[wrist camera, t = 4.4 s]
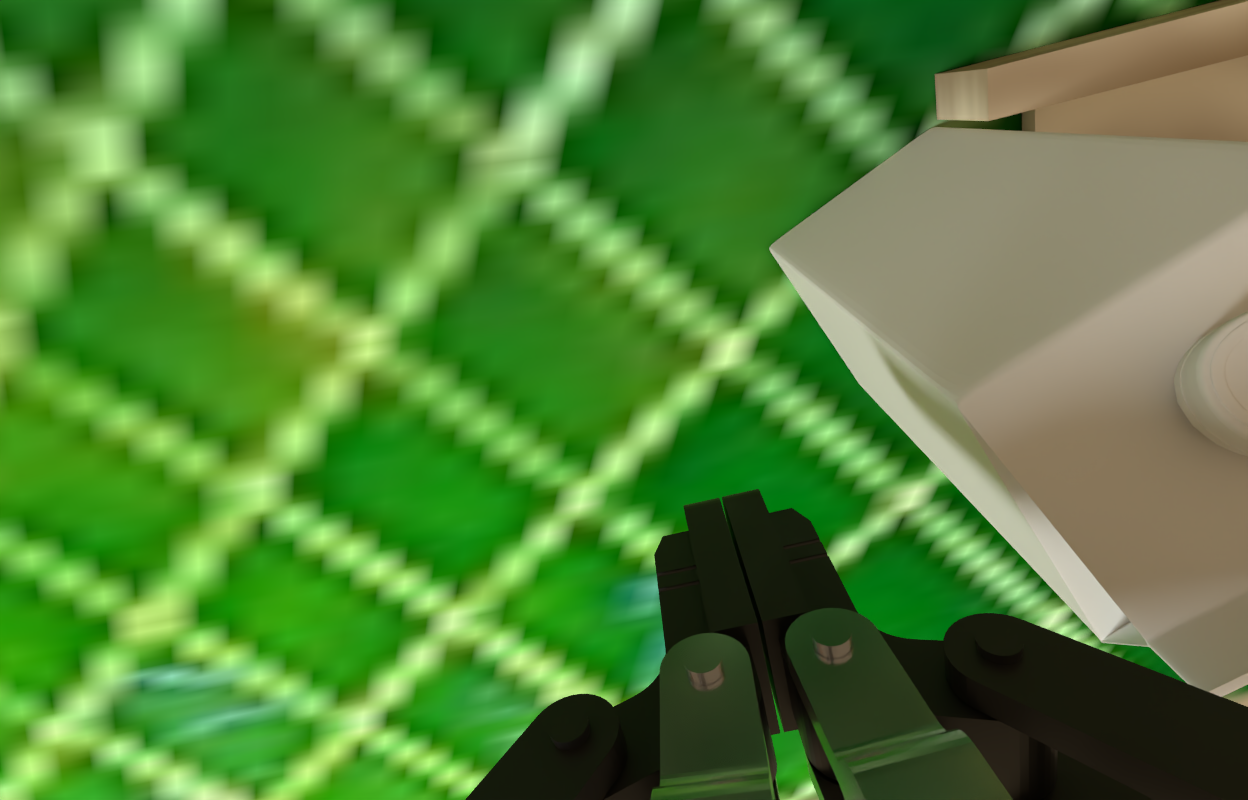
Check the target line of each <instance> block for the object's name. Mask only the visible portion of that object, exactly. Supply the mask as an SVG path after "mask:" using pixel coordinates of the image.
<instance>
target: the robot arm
mask: <svg viewBox="0 0 1248 800" xmlns="http://www.w3.org/2000/svg"><path fill="white" fill-rule="evenodd" d="M722 500H723V506H724V511H725V515H726V518H725V515H724V511H723V508H722V505H721V502H720V499H719V498H716V499H711V500H707V501H702V502H698V503H693V504H689V505H684V510H685V515H686V520H687V525H688V529H689V531H686V532H681V533H676V534H672V535H667V536H663V537H662V540H661V542H660V544H659V546H658V548H657V550H656V552H655V555H654V556H655V564H656V573H657V581H658V589H659V598H660V606H661V614H662V623H663V631H664V640H665V648H666V655H665V657H664V658H663V660H662V663H661V666H660V673H659V675H658V676H657V678H656V679H655V680H654V681H653V682H652V683H651V684H650V685H649V686H648V687H647V688H646V689H645V690H643V691H642V692H641V693H639V694H637V695H635V696H634V697H632V698H630V699H628V700H626V701H624V702H622V703H620V704H618V705H616V706H614V707H613V706H612V705H611V704H610V703H609V702H608V701H607V700H605V699H603V698H601V697H599V696H596V695H591V694H577V695H571V696H568V697H565V698H562V699H560V700H558V701H556V702H554V703H553V704H551V705H549V706H548V707H547V708H546V709H544V710H543V711H542V712H541V713H540V714H539V715H538V716H537V717H536V719H535V720H534V721H533V722H532V723H531V724H530V726H529V727H528V728H527V729H526V730H525V731H524V732H523V734H522V735H521V736H520V737H519V738H518V739H517V741H516V742H515V743H514V744H513V745H512V746H511V747H510V749H509V750H508V751H507V752H506V753H505V754H504V756H503V757H502V758H501V759H500V760H499V761H498V763H497V764H496V765H495V766H494V767H493V768H492V769H491V771H490V772H489V773H488V774H487V775H486V776H485V778H484V779H483V780H482V781H481V782H480V783H479V784H478V786H477V787H476V788H475V789H474V790H473V791H472V793H471V794H470V795H469V796H468V797H467V798H466V800H780V798H779V792H778V787H777V782H776V777H775V776H776V771H777V763H776V757H775V752H774V747H773V743H772V738H771V735H773V734H778V733H780V730H779V725H778V720H777V715H776V710H775V705H774V700H773V696H774V699H775V702H776V706H777V709H778V713H779V716H780V719H781V723H782V726H783V730H784V732H787V731H792V730H797V729H798V730H799V733H800V736H801V740H802V743H803V746H804V749H805V754H806V759H807V765H808V770H809V774H810V777H811V780H812V783H813V785H814V788H815V790H816V793H817V795H818V797H819V800H1248V707H1246V706H1244V705H1241V704H1238V703H1236V702H1233V701H1231V700H1228V699H1226V698H1223V697H1220V696H1218V695H1215V694H1213V693H1210V692H1207V691H1205V690H1202V689H1200V688H1197V687H1195V686H1192V685H1189V684H1187V683H1184V682H1182V681H1179V680H1176V679H1174V678H1171V677H1169V676H1166V675H1164V674H1161V673H1158V672H1156V671H1153V670H1151V669H1148V668H1145V667H1143V666H1140V665H1138V664H1135V663H1133V662H1130V661H1127V660H1125V659H1122V658H1120V657H1117V656H1114V655H1112V654H1109V653H1107V652H1104V651H1102V650H1099V649H1096V648H1094V647H1091V646H1089V645H1086V644H1083V643H1081V642H1078V641H1076V640H1073V639H1071V638H1068V637H1065V636H1063V635H1060V634H1058V633H1055V632H1052V631H1050V630H1047V629H1045V628H1042V627H1040V626H1037V625H1034V624H1032V623H1029V622H1027V621H1024V620H1021V619H1018V618H1015V617H1012V616H1008V615H1003V614H994V613H983V614H975V615H971V616H967V617H964V618H962V619H960V620H958V621H957V622H955V623H954V624H953V625H951V626H950V627H949V629H948V630H947V632H946V634H945V637H944V641H937V640H917V639H906V638H900V637H895V636H892V635H889V634H886V633H884V632H882V631H879V630H878V629H877V628H876V627H875V625H874V624H873V623H872V622H871V621H870V620H868V619H867V618H866V617H864V616H862V615H861V614H858V612H857V611H856V609H855V607H854V605H853V603H852V601H851V599H850V597H849V595H848V593H847V591H846V589H845V587H844V585H843V584H842V582H841V580H840V578H839V576H838V574H837V572H836V570H835V568H834V566H833V564H832V562H831V560H830V558H829V556H827V552H826V550H825V549H824V547H823V545H822V543H821V542H820V540H819V537H818V535H817V533H816V531H815V529H814V527H813V525H812V523H811V521H810V520H808V519H807V518H805V517H804V516H802V515H801V514H799V513H798V512H797V511H795V510H794V509H792V508H790V509H786V510H781V511H777V512H772V513H769V512H768V510H767V508H766V505H765V503H764V500H763V498H762V496H761V493H760V491H759V489H756V490H752V491H747V492H743V493H738V494H733V495H729V496H724V497H722ZM726 520H727V521H726ZM771 689H772V690H771ZM772 692H773V695H772Z"/></svg>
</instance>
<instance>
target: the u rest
mask: <svg viewBox="0 0 1248 800" xmlns="http://www.w3.org/2000/svg"><path fill="white" fill-rule="evenodd" d="M935 88H936V108H937V120H969V121H991V120H995V119H999V118H1003V117H1007V116H1010V115H1014V114H1018V113H1022V131H1032V132H1053V133H1074V134H1095V135H1116V136H1136V137H1157V138H1178V139H1199V140H1220V141H1241V142H1248V0H1219V1H1215V2H1212V3H1208V4H1204V5H1200V6H1196V7H1192V8H1188V9H1185V10H1181V11H1177V12H1173V13H1169V14H1165V15H1162V16H1158V17H1154V18H1150V19H1146V20H1142V21H1138V22H1135V23H1131V24H1127V25H1123V26H1119V27H1115V28H1111V29H1108V30H1104V31H1100V32H1096V33H1092V34H1088V35H1085V36H1081V37H1077V38H1073V39H1069V40H1065V41H1061V42H1058V43H1054V44H1050V45H1046V46H1042V47H1038V48H1034V49H1031V50H1027V51H1023V52H1019V53H1015V54H1011V55H1008V56H1004V57H1000V58H996V59H992V60H988V61H984V62H981V63H977V64H973V65H969V66H965V67H961V68H958V69H954V70H950V71H946V72H942V73H938V74H935Z"/></svg>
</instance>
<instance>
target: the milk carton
mask: <svg viewBox="0 0 1248 800" xmlns="http://www.w3.org/2000/svg"><path fill="white" fill-rule="evenodd" d="M769 249H770V252H771V253H772V255H773V256H774V258H775V259H776V261H777V262H778V264H779V265H780V267H781V268H782V270H783V271H784V272H785V274H786V275H787V277H788V278H789V280H790V281H791V283H792V284H793V286H794V287H795V289H796V290H797V292H798V293H799V295H800V296H801V298H802V299H803V301H804V302H805V304H806V305H807V307H808V308H809V310H810V311H811V313H812V314H813V316H814V317H815V319H816V320H817V322H818V323H819V325H820V326H821V328H822V329H823V331H824V332H825V334H826V335H827V337H828V338H829V340H830V341H831V343H832V344H833V346H834V347H835V349H836V350H837V352H838V353H839V355H840V356H841V358H842V359H843V361H844V362H845V364H846V365H847V366H848V368H849V369H850V371H851V372H852V374H853V375H854V377H855V378H856V380H857V381H858V383H859V384H860V385H861V386H862V387H863V389H864V390H865V391H866V392H867V393H868V394H869V395H870V396H871V397H872V398H873V399H874V400H875V401H876V402H877V403H878V404H879V406H880V407H881V408H882V409H883V410H884V411H885V412H886V413H887V414H888V415H889V416H890V417H891V418H892V419H893V420H894V421H895V423H896V424H897V425H898V426H899V427H900V428H901V429H902V430H903V431H904V432H905V433H906V434H907V435H908V436H909V437H910V438H911V439H912V441H913V442H914V443H915V444H916V445H917V446H918V447H919V448H920V449H921V450H922V451H923V452H924V453H925V454H926V455H927V456H928V458H929V459H930V460H931V461H932V462H933V463H934V464H935V465H936V466H937V467H938V468H939V469H940V470H941V471H942V472H943V473H944V474H945V476H946V477H947V478H948V479H949V480H950V481H951V482H952V483H953V484H954V485H955V486H956V487H957V488H958V489H959V490H960V491H961V493H962V494H963V495H964V496H965V497H966V498H967V499H968V500H969V501H970V502H971V503H972V504H973V505H974V506H975V507H976V508H977V509H978V511H979V512H980V513H981V514H982V515H983V516H984V517H985V518H986V519H987V520H988V521H989V522H990V523H991V524H992V525H993V526H994V528H995V529H996V530H997V531H998V532H999V533H1000V534H1001V535H1002V536H1003V537H1004V538H1005V539H1006V540H1007V541H1008V542H1009V543H1010V545H1011V546H1012V547H1013V548H1014V549H1015V550H1016V551H1017V552H1018V553H1019V554H1020V555H1021V556H1022V557H1023V558H1024V559H1025V560H1026V561H1027V563H1028V564H1029V565H1030V566H1031V567H1032V568H1033V569H1034V570H1035V571H1036V572H1037V573H1038V574H1039V575H1040V576H1041V577H1042V578H1043V580H1044V581H1045V582H1046V583H1047V584H1048V585H1049V586H1050V587H1051V588H1052V589H1053V590H1054V591H1055V592H1056V593H1057V594H1058V595H1059V596H1060V598H1061V599H1062V600H1063V601H1064V602H1065V603H1066V604H1067V605H1068V606H1069V607H1070V608H1071V609H1072V610H1073V611H1074V612H1075V613H1076V615H1077V616H1078V617H1079V618H1080V619H1081V620H1082V621H1083V622H1084V623H1085V624H1086V625H1087V626H1088V627H1089V628H1090V629H1091V630H1092V632H1093V633H1094V634H1095V635H1096V636H1097V637H1098V638H1099V639H1100V641H1101V642H1103V643H1113V644H1124V645H1135V646H1146V647H1150V648H1151V649H1152V650H1153V651H1154V652H1155V653H1156V654H1158V655H1159V656H1160V657H1161V658H1162V659H1163V660H1164V661H1165V662H1166V663H1167V664H1168V665H1169V666H1170V667H1171V668H1172V669H1173V670H1174V671H1175V672H1176V673H1177V674H1178V675H1179V676H1180V677H1181V678H1182V679H1183V680H1184V681H1185V682H1186V683H1187V684H1189V685H1192V686H1195V687H1197V688H1200V689H1202V690H1205V691H1207V692H1210V693H1213V694H1215V695H1218V696H1220V697H1222V696H1224V695H1226V694H1229V693H1231V692H1233V691H1235V690H1237V689H1239V688H1241V687H1243V686H1245V685H1247V684H1248V142H1241V141H1220V140H1199V139H1178V138H1157V137H1136V136H1116V135H1095V134H1074V133H1053V132H1032V131H1011V130H990V129H969V128H948V127H933V128H931V129H929V130H927V131H926V132H924V133H923V134H921V135H920V136H918V137H917V138H916V139H914V140H913V141H912V142H910V143H909V144H907V145H906V146H905V147H903V148H902V149H901V150H899V151H898V152H897V153H895V154H894V155H892V156H891V157H890V158H888V159H887V160H886V161H884V162H883V163H881V164H880V165H879V166H877V167H876V168H875V169H873V170H872V171H871V172H869V173H868V174H866V175H865V176H864V177H862V178H861V179H860V180H858V181H857V182H856V183H854V184H853V185H851V186H850V187H849V188H847V189H846V190H845V191H843V192H842V193H840V194H839V195H838V196H836V197H835V198H834V199H832V200H831V201H830V202H828V203H827V204H825V205H824V206H823V207H821V208H820V209H819V210H817V211H816V212H815V213H813V214H812V215H810V216H809V217H808V218H806V219H805V220H804V221H802V222H801V223H799V224H798V225H797V226H795V227H794V228H793V229H791V230H790V231H789V232H787V233H786V234H785V235H783V236H782V237H781V238H779V239H778V240H777V241H775V242H774V243H773V244H772V245H771V246H770V248H769Z"/></svg>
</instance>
